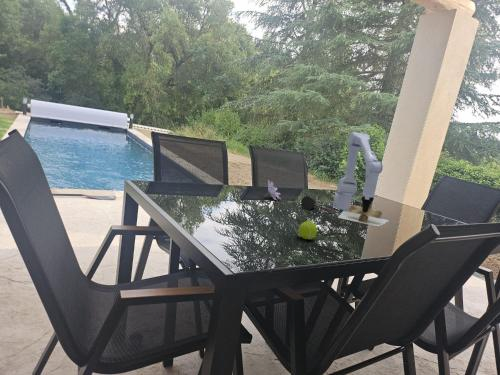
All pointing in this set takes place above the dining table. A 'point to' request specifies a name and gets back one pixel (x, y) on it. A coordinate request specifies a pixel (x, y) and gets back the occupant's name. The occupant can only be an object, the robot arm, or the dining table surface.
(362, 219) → the ridge
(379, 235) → the dining table surface
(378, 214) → the rod
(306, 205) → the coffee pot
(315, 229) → the tennis ball
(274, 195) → the water lily
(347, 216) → the slab
